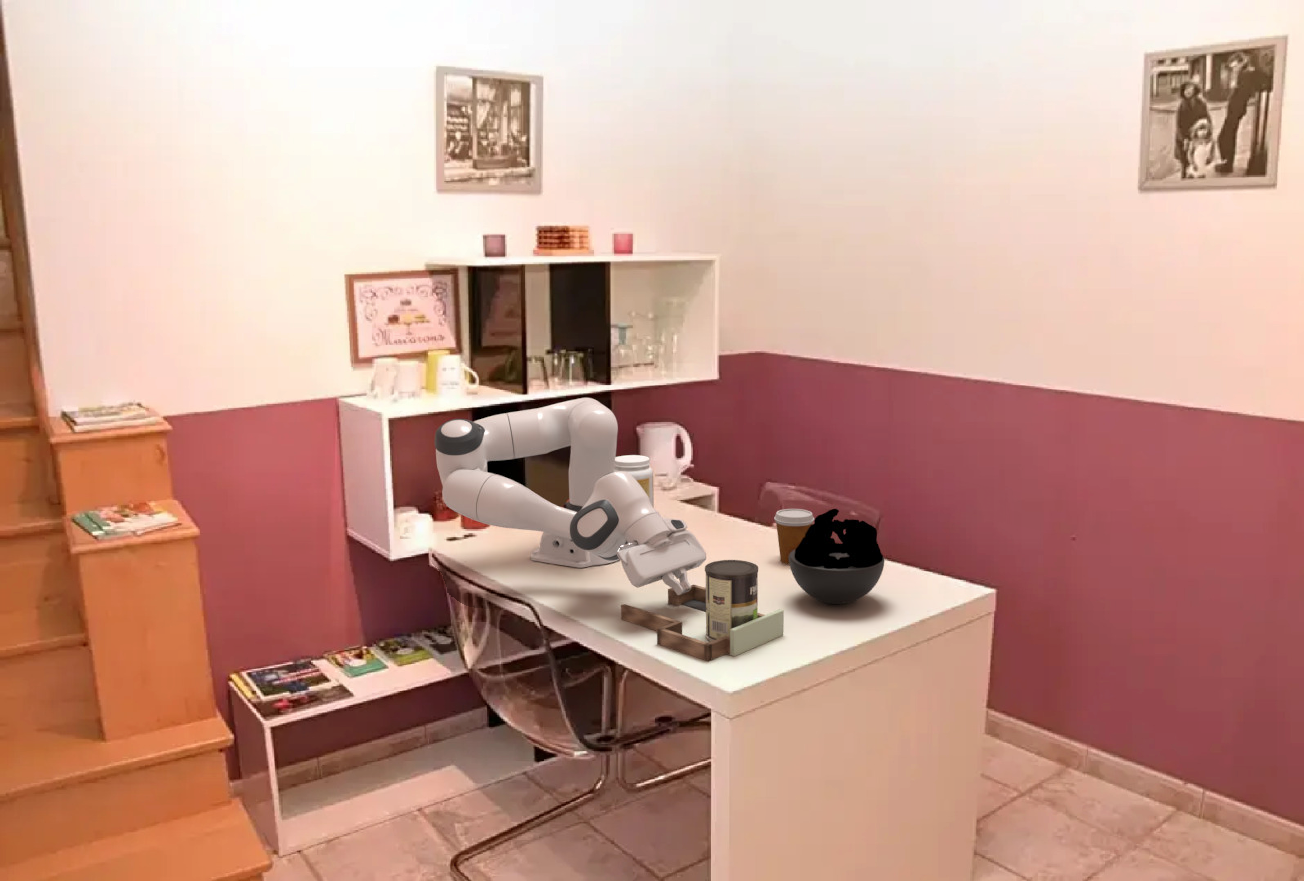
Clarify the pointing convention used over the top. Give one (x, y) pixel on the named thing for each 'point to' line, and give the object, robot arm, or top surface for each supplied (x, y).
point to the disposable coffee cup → (791, 529)
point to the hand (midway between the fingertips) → (685, 592)
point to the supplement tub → (637, 471)
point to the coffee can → (730, 596)
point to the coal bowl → (837, 560)
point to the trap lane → (679, 626)
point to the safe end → (756, 632)
